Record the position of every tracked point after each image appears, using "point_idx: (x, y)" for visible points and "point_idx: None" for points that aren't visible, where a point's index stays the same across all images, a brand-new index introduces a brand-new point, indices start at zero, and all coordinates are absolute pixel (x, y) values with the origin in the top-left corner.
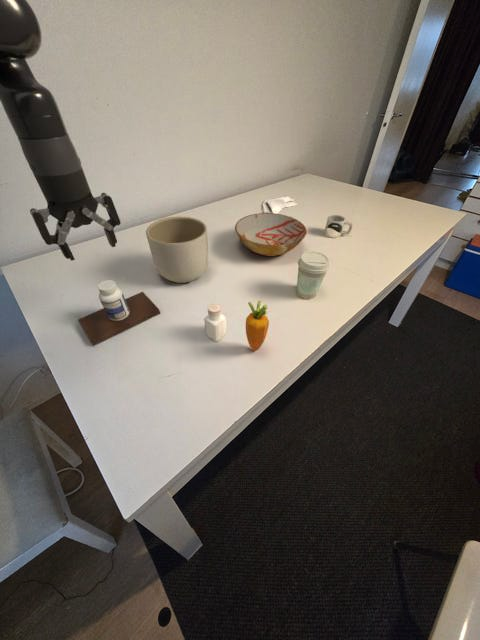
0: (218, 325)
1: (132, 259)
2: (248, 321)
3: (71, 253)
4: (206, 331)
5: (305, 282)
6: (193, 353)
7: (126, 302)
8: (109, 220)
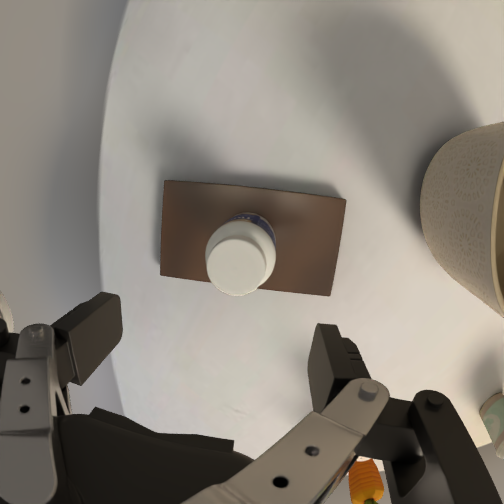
0: None
1: (401, 38)
2: (356, 497)
3: (104, 355)
4: None
5: (491, 432)
6: (294, 407)
7: (287, 209)
8: (389, 436)
